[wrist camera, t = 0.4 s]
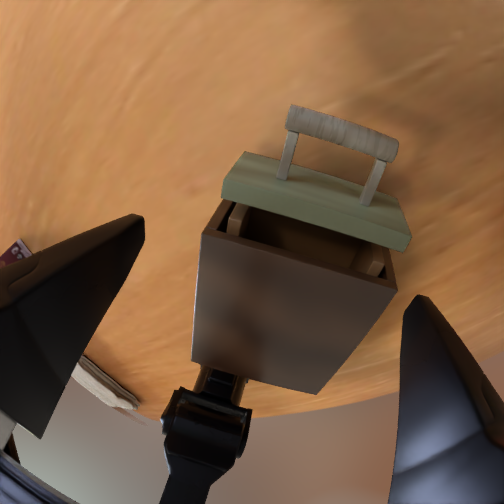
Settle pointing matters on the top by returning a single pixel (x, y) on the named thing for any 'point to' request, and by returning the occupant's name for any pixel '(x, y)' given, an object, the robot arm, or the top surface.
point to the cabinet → (280, 309)
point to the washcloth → (103, 385)
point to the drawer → (318, 198)
